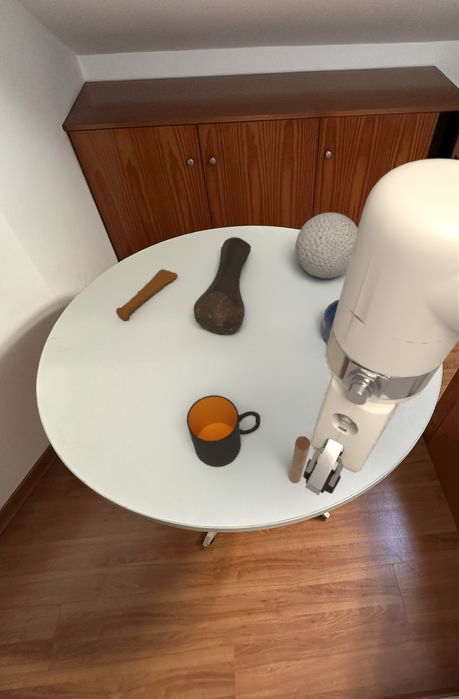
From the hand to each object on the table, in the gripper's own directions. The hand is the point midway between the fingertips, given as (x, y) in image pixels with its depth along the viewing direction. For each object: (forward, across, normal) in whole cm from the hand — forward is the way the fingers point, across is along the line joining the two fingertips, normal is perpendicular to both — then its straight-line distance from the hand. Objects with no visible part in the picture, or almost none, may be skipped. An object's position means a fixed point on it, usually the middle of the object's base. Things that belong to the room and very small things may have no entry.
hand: (337, 445), depth 40 cm
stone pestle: (+24, +33, +39) cm, 57 cm away
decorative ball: (+24, +53, +22) cm, 62 cm away
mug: (+24, +2, +17) cm, 30 cm away
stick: (+24, +3, +4) cm, 24 cm away
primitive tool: (+25, +24, +56) cm, 65 cm away
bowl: (+24, +37, +9) cm, 45 cm away
